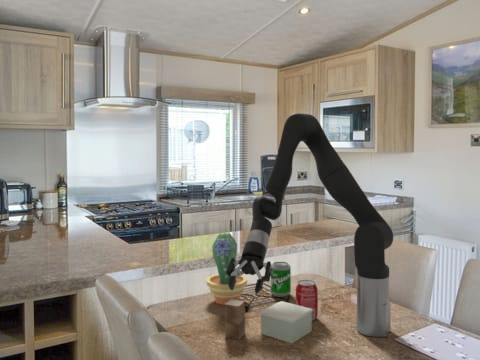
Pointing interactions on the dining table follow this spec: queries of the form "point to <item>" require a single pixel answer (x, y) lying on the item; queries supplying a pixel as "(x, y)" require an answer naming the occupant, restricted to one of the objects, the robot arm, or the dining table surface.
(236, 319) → the walnut block
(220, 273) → the potted cactus
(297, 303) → the soda can
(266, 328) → the storage box
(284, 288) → the soda can
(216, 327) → the dining table surface
